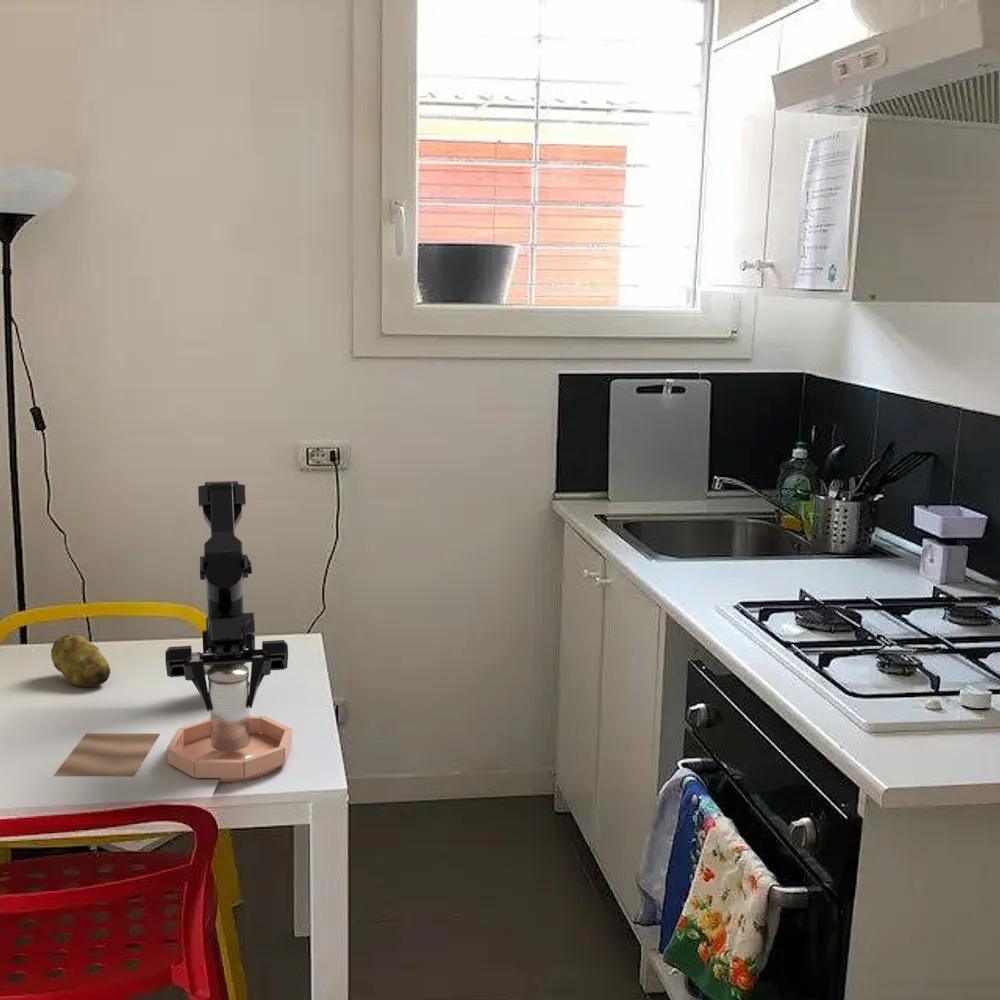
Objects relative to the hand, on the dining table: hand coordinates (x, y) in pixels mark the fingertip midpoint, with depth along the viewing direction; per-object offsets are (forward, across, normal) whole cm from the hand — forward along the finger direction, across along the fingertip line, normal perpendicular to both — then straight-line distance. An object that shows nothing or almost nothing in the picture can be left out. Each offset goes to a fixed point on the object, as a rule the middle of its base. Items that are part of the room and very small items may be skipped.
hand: (229, 708), depth 188 cm
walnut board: (+3, -19, +10) cm, 21 cm away
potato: (-23, -26, +36) cm, 50 cm away
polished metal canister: (+4, 0, +5) cm, 6 cm away
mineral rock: (-24, -2, +38) cm, 46 cm away
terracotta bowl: (+6, 0, +7) cm, 9 cm away
